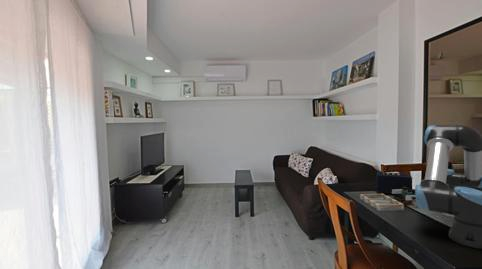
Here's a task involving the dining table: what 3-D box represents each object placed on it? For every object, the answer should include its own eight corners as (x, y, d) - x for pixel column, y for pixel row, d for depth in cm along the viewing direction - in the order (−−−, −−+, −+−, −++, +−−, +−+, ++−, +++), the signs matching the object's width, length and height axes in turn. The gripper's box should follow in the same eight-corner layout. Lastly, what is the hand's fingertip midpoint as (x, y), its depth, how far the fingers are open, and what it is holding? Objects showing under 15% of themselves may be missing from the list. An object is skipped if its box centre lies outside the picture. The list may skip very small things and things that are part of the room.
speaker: (409, 192, 185) (409, 172, 184) (412, 197, 174) (412, 176, 173) (376, 189, 195) (376, 170, 194) (376, 194, 184) (376, 174, 183)
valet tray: (403, 210, 151) (403, 204, 151) (378, 211, 151) (378, 205, 151) (382, 198, 173) (382, 193, 173) (360, 199, 173) (360, 194, 173)
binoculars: (391, 187, 166) (406, 185, 166) (392, 202, 167) (407, 200, 167) (399, 191, 157) (415, 189, 157) (400, 207, 158) (416, 205, 158)
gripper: (447, 205, 150) (412, 207, 150) (417, 193, 175) (387, 194, 175) (447, 193, 150) (412, 194, 149) (417, 183, 174) (387, 184, 174)
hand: (398, 194), depth 162 cm, fingers open, 13 cm apart
